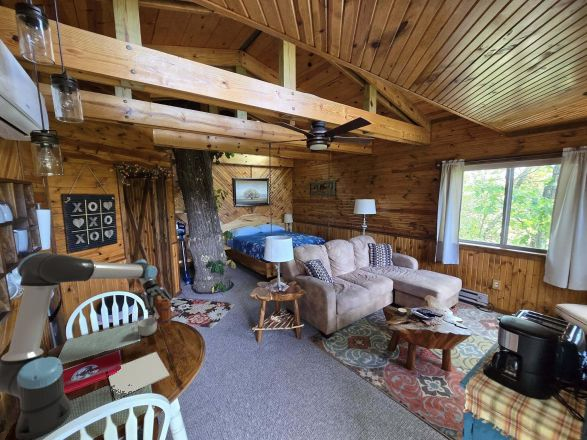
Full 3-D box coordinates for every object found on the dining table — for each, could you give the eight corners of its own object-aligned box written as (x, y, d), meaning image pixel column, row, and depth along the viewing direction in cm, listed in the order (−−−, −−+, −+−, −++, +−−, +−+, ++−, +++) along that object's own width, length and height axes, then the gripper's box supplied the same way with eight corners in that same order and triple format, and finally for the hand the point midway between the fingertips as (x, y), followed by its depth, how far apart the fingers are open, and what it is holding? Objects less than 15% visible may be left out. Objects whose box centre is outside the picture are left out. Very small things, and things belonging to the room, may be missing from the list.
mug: (174, 324, 140) (174, 299, 139) (159, 329, 134) (158, 303, 133) (164, 315, 150) (164, 292, 148) (150, 320, 144) (149, 296, 142)
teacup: (155, 327, 162) (154, 315, 162) (159, 333, 155) (159, 322, 154) (130, 334, 153) (130, 322, 152) (133, 342, 145) (133, 329, 144)
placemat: (114, 401, 103) (114, 400, 103) (107, 371, 121) (107, 370, 121) (169, 375, 119) (169, 374, 118) (156, 352, 136) (156, 351, 136)
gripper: (163, 281, 157) (178, 311, 150) (128, 291, 139) (144, 325, 132) (167, 274, 153) (183, 305, 146) (132, 284, 136) (149, 319, 129)
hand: (165, 315), depth 139 cm, fingers closed on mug, 8 cm apart
